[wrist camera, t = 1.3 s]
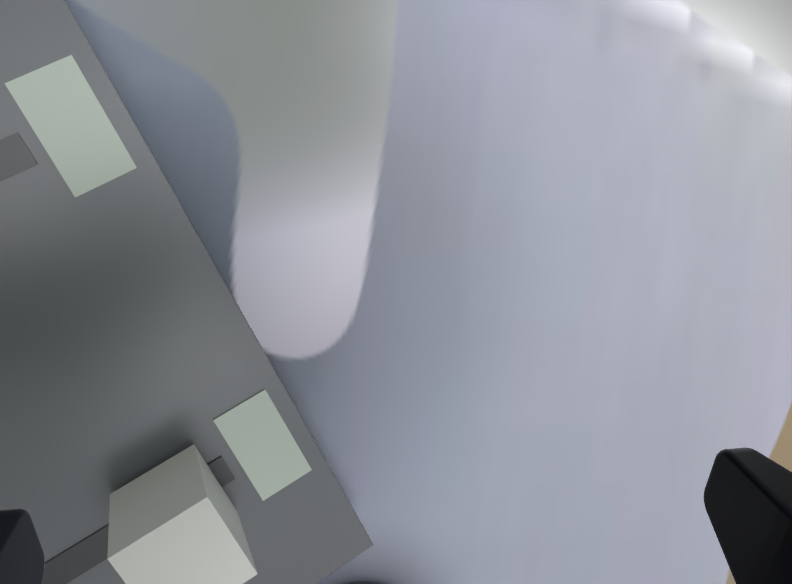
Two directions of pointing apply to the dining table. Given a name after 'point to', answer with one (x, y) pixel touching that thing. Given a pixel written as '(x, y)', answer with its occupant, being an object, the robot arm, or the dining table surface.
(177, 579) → the lever
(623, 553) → the dining table surface
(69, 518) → the grey flat rectangular board
